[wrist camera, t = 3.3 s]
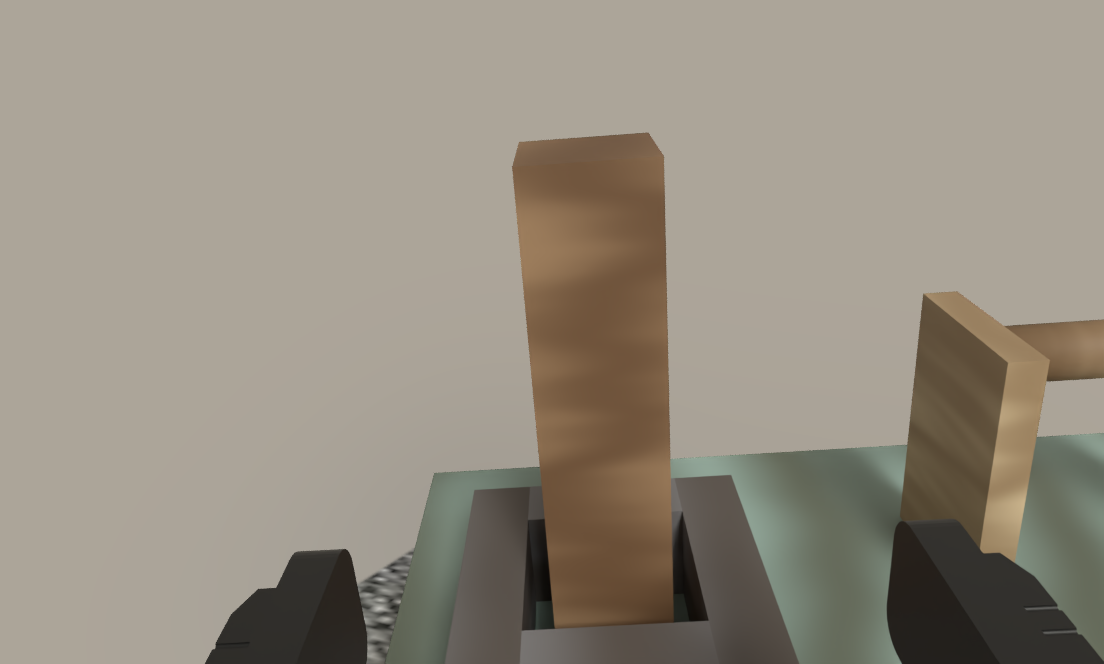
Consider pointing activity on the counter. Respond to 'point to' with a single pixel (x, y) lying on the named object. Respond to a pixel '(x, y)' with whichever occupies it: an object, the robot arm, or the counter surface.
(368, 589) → the counter surface
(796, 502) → the wooden socket fixture
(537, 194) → the walnut key
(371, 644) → the counter surface
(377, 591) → the counter surface
